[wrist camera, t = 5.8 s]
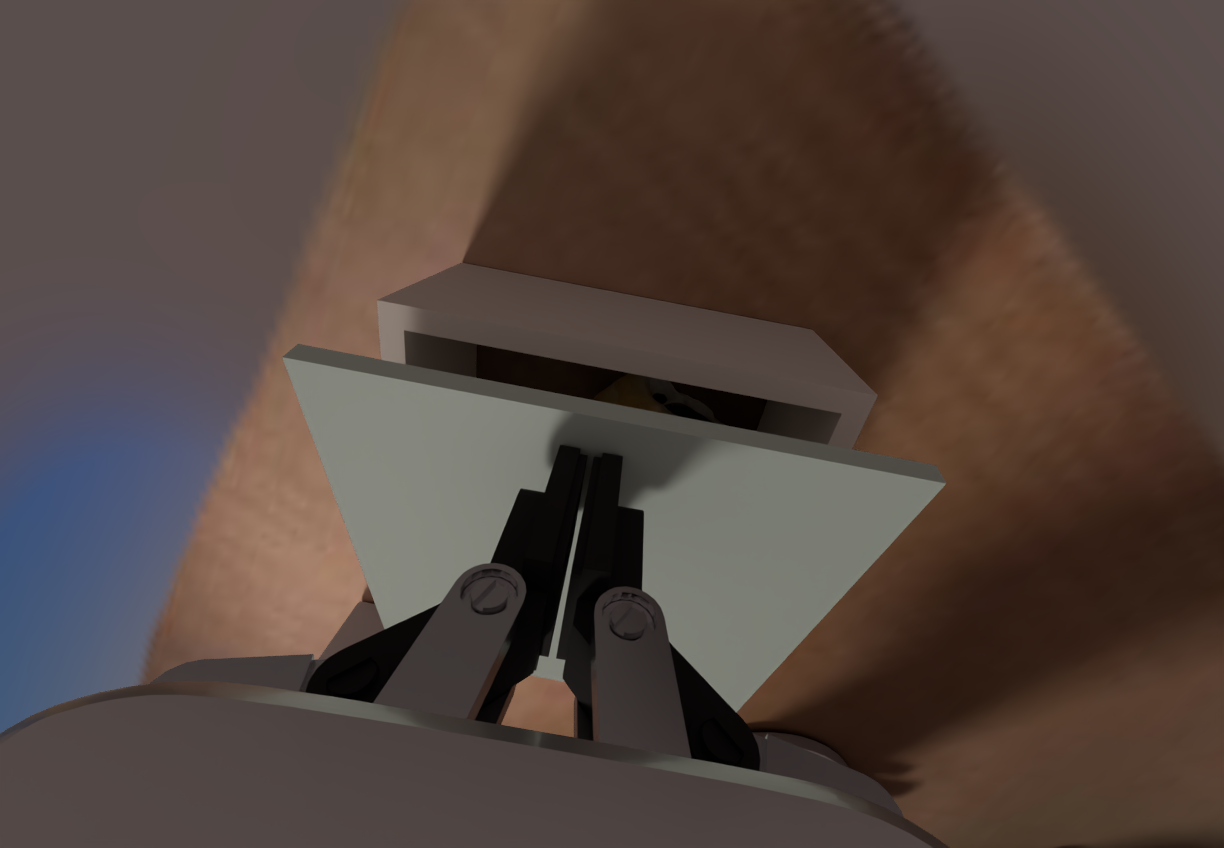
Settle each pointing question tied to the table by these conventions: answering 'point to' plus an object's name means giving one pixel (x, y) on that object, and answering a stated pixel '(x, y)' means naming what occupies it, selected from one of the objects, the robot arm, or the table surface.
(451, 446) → the box lid
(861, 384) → the pastry box
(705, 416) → the pastry
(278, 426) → the table surface
